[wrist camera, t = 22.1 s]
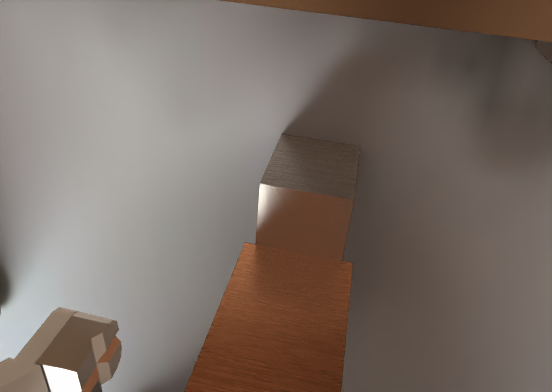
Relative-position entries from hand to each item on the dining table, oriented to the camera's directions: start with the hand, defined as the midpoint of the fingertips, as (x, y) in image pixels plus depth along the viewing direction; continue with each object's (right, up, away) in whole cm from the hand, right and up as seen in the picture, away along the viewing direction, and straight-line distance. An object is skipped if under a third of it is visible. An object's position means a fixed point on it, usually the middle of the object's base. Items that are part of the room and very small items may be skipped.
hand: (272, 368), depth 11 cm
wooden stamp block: (+1, +3, +5) cm, 6 cm away
